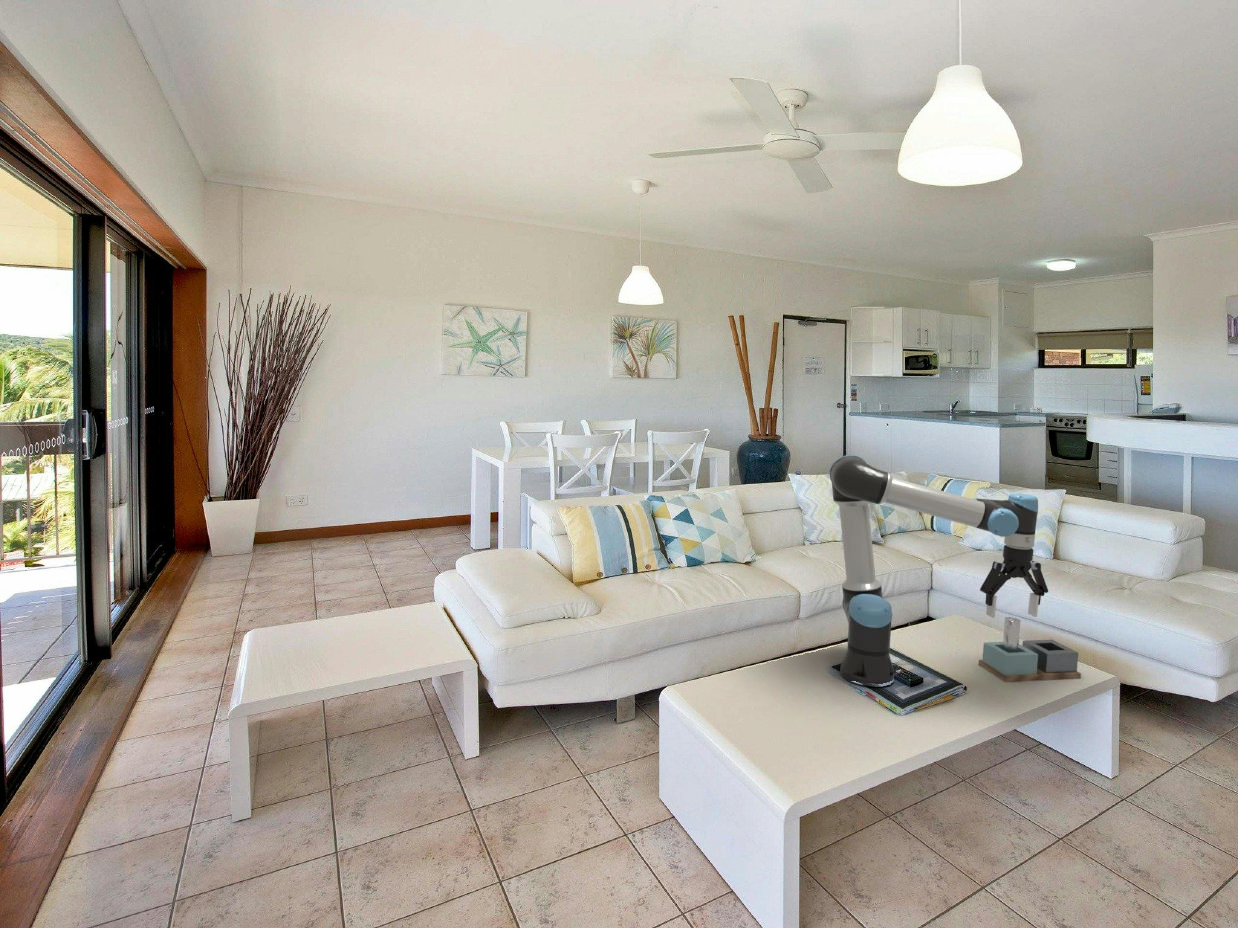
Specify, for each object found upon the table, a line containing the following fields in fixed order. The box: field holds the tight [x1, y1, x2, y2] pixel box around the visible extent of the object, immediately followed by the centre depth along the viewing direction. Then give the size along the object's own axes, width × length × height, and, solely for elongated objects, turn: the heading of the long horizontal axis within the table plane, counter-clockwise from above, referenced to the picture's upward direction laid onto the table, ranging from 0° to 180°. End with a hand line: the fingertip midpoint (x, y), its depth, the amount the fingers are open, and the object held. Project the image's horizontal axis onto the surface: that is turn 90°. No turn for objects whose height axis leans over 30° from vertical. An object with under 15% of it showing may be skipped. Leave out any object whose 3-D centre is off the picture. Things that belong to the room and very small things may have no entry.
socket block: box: [1021, 639, 1079, 673], centre depth 196 cm, size 10×10×6 cm
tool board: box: [978, 659, 1082, 683], centre depth 196 cm, size 24×12×2 cm, turn 96°
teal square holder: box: [981, 641, 1038, 675], centre depth 195 cm, size 10×10×6 cm
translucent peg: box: [1002, 616, 1021, 653], centre depth 194 cm, size 4×4×14 cm
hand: (1011, 615), depth 193 cm, fingers open, 13 cm apart
